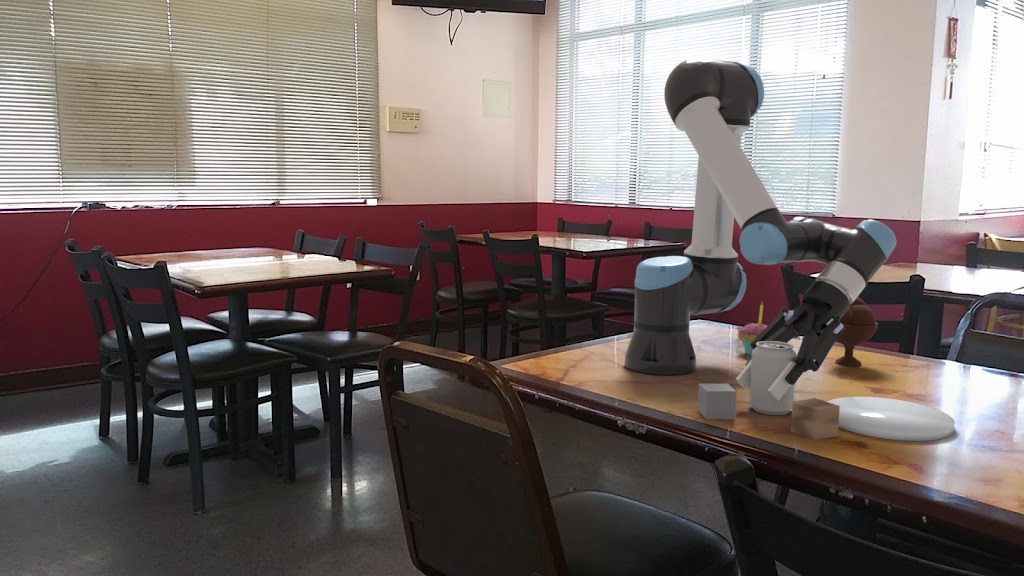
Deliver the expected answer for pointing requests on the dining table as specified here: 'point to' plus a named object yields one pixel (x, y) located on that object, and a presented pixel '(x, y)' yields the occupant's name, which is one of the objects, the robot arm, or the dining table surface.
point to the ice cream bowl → (856, 330)
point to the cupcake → (751, 333)
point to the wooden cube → (815, 418)
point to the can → (770, 377)
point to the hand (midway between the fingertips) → (756, 389)
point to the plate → (893, 419)
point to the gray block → (717, 401)
